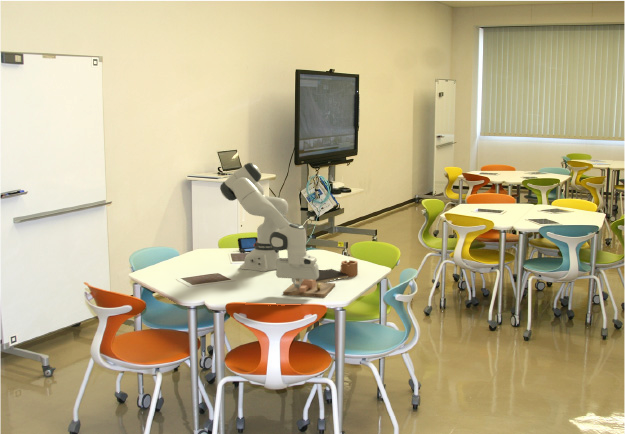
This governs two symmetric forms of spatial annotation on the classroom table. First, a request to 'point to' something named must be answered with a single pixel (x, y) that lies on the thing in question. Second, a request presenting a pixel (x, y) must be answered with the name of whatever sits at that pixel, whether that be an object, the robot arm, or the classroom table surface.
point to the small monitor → (247, 244)
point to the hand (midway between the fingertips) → (297, 287)
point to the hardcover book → (330, 275)
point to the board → (310, 290)
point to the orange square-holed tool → (307, 285)
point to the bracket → (349, 268)
